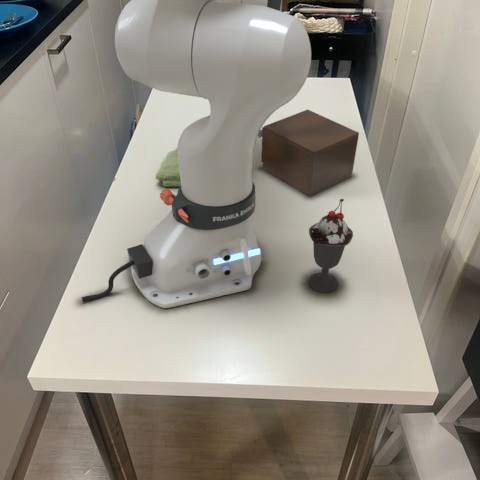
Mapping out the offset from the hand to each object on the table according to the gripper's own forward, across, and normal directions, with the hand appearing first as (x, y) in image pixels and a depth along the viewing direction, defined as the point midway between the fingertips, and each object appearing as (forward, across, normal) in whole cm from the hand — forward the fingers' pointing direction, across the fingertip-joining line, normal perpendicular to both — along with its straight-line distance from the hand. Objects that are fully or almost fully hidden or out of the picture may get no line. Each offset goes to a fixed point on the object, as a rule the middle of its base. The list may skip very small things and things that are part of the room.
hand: (252, 111), depth 111 cm
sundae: (+8, -45, +23) cm, 51 cm away
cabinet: (+8, -18, 0) cm, 19 cm away
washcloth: (+8, -4, +17) cm, 20 cm away
